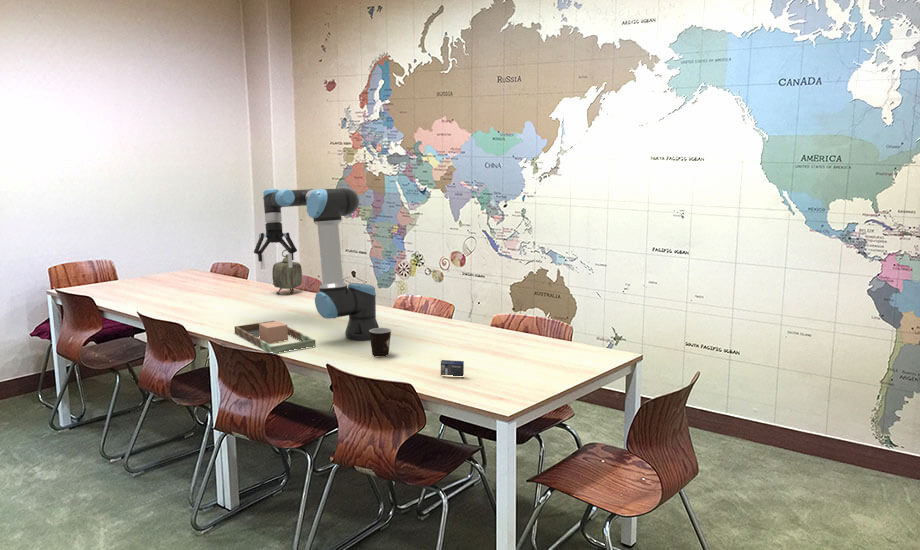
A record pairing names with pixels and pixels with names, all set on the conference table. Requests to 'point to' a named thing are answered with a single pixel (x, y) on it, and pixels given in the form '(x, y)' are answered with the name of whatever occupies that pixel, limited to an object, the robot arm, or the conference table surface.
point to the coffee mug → (380, 341)
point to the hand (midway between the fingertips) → (276, 268)
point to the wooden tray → (249, 335)
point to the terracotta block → (273, 332)
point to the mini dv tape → (452, 367)
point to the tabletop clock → (286, 275)
